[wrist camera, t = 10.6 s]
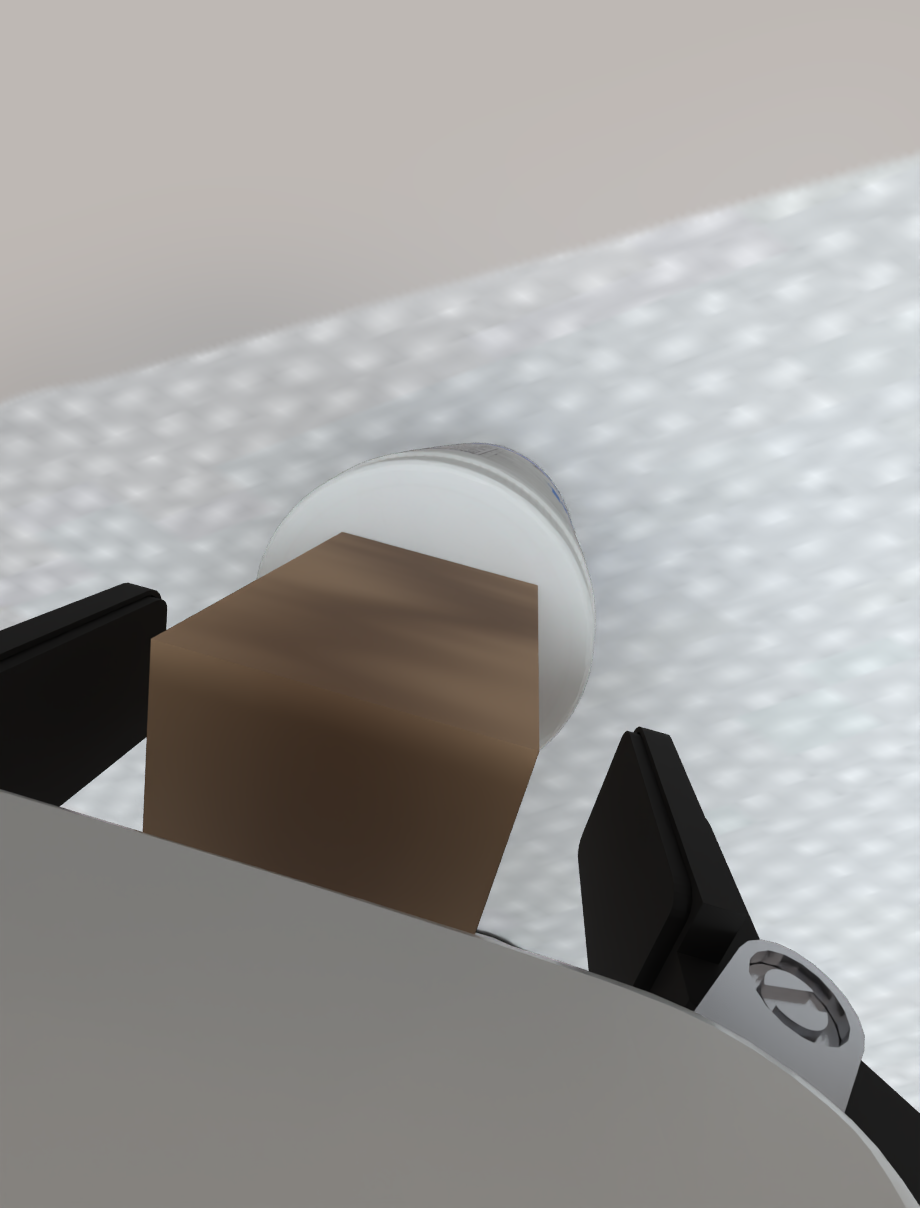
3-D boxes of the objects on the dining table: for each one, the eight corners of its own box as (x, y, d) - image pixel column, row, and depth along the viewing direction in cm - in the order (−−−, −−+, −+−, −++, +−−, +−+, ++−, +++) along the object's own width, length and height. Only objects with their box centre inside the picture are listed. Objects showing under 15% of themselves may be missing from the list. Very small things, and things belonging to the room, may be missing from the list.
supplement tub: (591, 596, 28) (644, 765, 14) (423, 641, 30) (328, 826, 16) (539, 410, 25) (543, 394, 12) (360, 473, 28) (183, 523, 14)
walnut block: (537, 585, 13) (538, 751, 6) (486, 752, 15) (444, 1019, 8) (342, 531, 13) (150, 638, 7) (313, 702, 15) (138, 921, 8)
